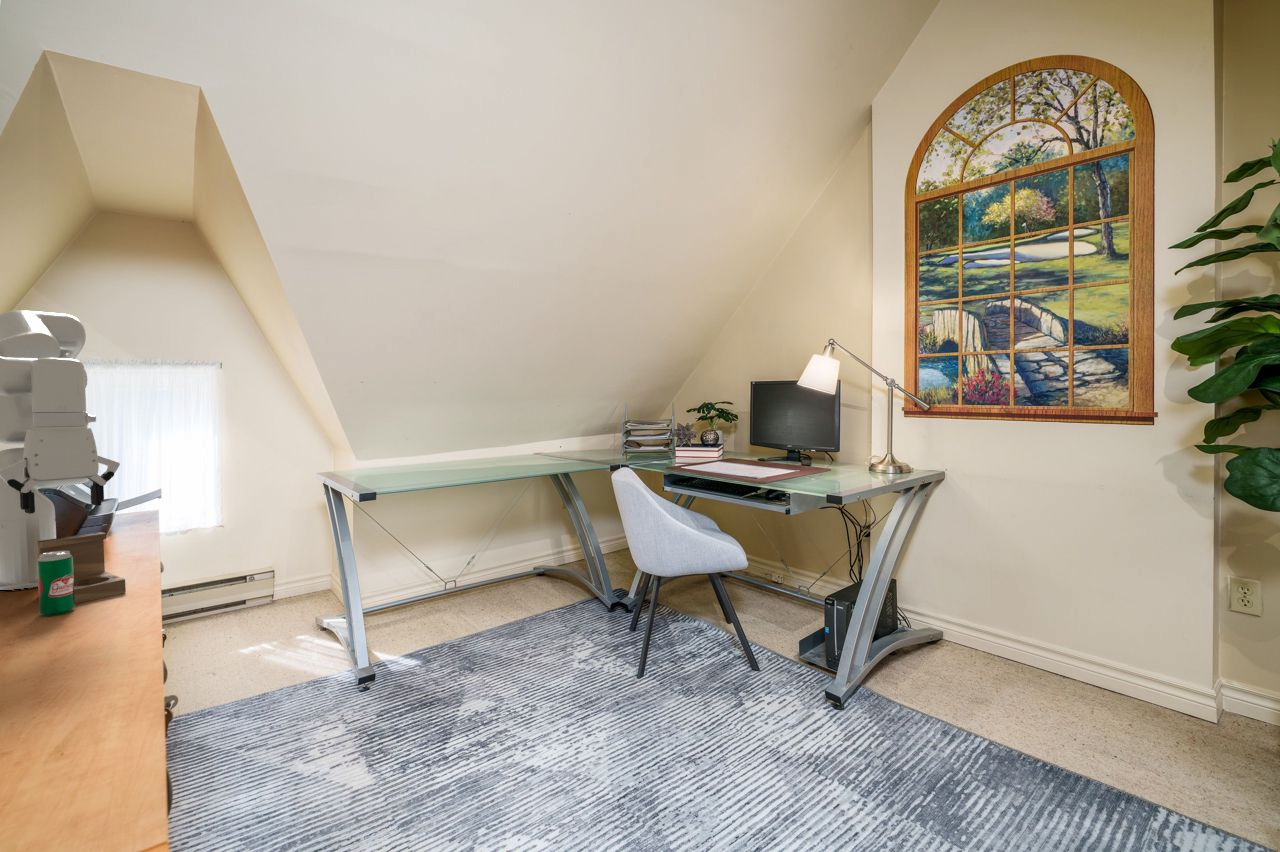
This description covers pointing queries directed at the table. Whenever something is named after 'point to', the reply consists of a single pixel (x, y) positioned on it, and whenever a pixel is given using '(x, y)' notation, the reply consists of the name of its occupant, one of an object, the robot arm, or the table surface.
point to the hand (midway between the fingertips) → (64, 508)
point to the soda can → (55, 583)
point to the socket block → (86, 565)
